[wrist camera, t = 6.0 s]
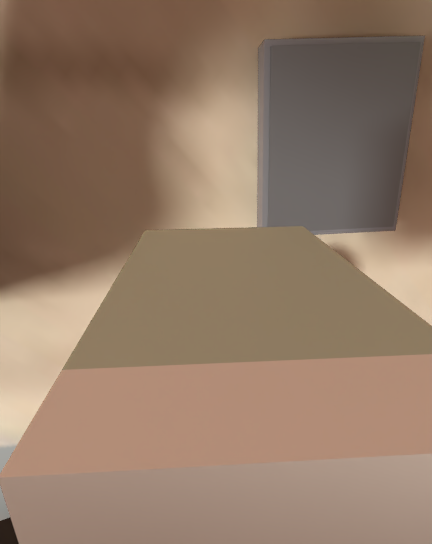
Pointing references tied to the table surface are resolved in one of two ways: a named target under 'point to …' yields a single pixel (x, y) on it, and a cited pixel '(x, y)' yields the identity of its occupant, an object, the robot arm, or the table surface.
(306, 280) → the carton
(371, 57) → the podium
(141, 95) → the table surface
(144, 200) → the table surface
